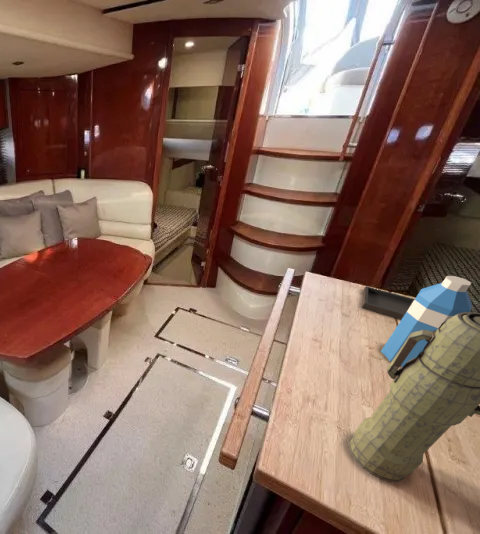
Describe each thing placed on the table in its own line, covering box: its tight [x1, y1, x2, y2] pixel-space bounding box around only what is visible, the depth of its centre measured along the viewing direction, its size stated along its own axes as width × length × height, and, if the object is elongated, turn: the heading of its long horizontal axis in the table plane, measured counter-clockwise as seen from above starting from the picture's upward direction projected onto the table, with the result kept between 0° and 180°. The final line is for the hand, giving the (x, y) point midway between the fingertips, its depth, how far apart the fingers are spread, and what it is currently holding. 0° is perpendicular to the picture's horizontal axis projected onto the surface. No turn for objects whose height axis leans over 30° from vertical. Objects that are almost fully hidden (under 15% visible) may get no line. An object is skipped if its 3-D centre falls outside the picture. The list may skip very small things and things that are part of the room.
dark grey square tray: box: [361, 285, 415, 321], centre depth 101 cm, size 13×13×2 cm
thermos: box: [347, 311, 480, 483], centre depth 52 cm, size 9×12×35 cm
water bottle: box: [380, 275, 473, 368], centre depth 76 cm, size 9×9×25 cm
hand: (457, 334), depth 71 cm, fingers open, 13 cm apart
